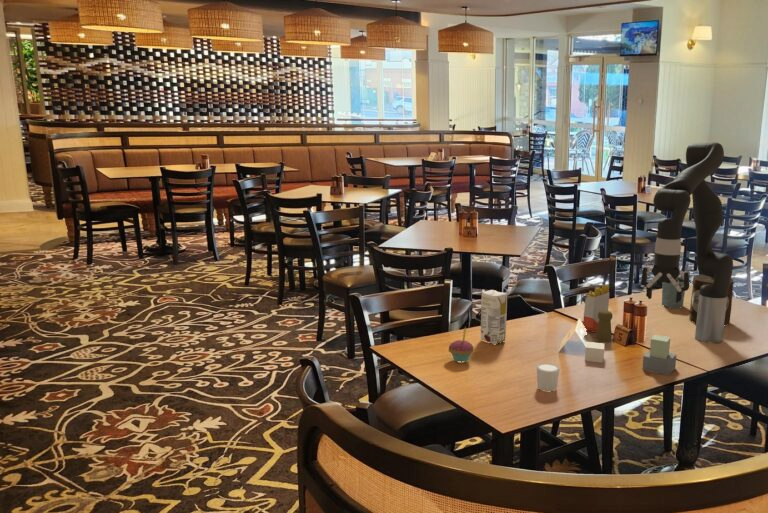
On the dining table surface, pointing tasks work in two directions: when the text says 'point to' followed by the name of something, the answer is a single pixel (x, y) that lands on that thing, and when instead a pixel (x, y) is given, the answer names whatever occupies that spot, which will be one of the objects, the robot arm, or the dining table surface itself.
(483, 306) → the juice carton
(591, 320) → the french fries container
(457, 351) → the cupcake
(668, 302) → the green tapered bucket
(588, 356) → the cream block
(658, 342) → the sage block
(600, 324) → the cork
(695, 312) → the wooden container
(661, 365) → the slate block
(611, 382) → the dining table surface
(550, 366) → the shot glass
